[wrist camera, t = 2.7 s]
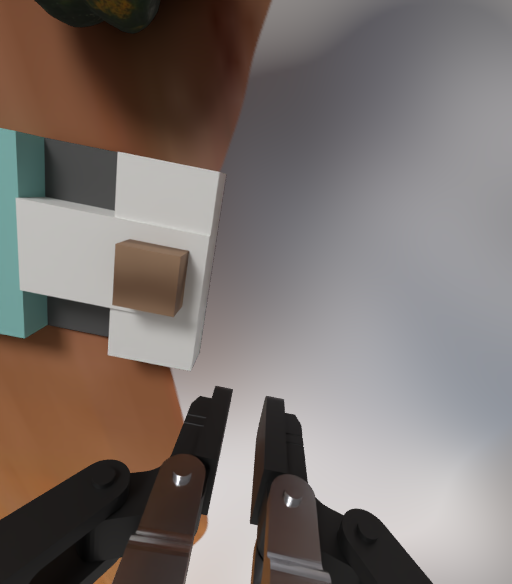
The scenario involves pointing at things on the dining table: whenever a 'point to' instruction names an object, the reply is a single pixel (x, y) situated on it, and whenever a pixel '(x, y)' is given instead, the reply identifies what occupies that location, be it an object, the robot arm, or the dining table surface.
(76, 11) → the squash
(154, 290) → the walnut block
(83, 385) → the dining table surface
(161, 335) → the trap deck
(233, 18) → the dining table surface
